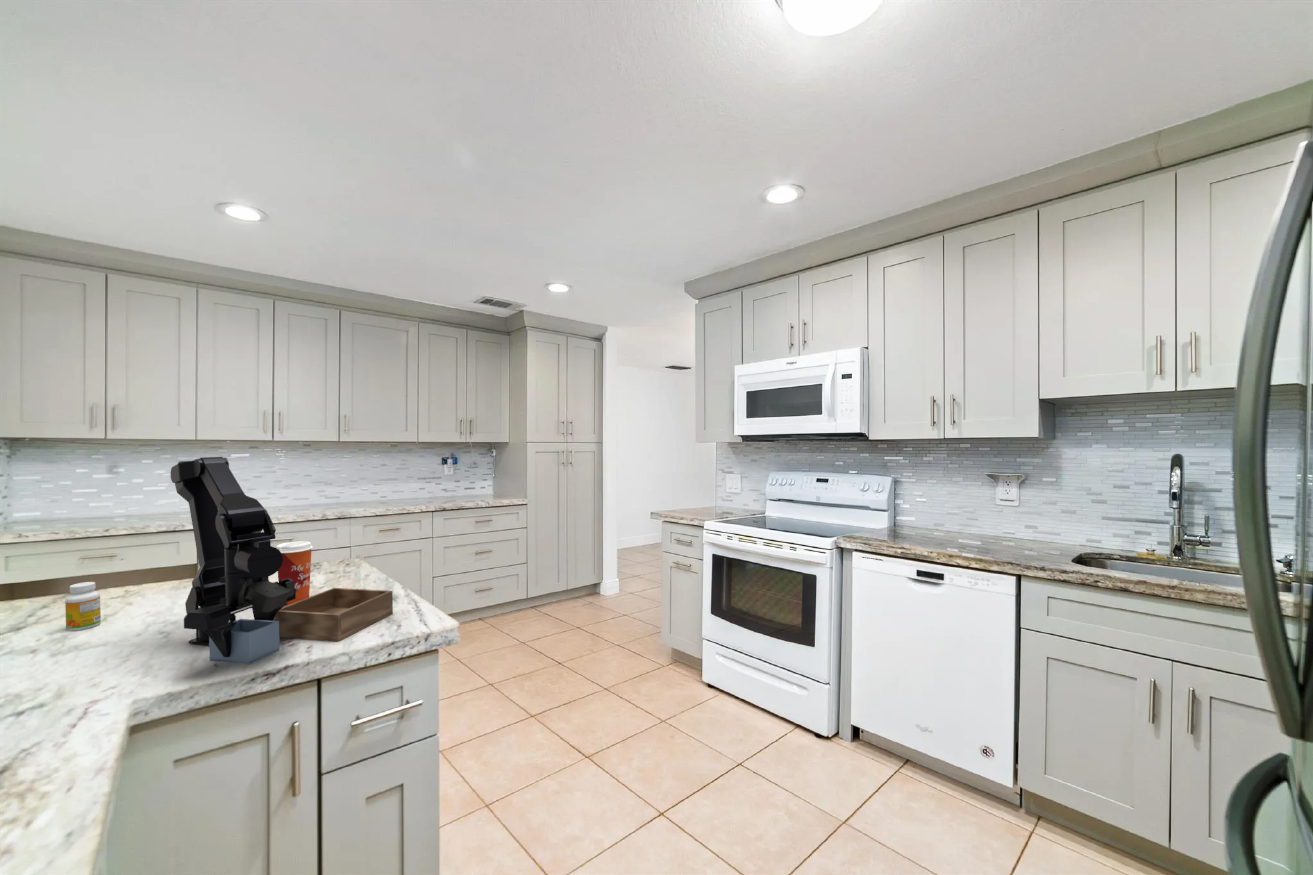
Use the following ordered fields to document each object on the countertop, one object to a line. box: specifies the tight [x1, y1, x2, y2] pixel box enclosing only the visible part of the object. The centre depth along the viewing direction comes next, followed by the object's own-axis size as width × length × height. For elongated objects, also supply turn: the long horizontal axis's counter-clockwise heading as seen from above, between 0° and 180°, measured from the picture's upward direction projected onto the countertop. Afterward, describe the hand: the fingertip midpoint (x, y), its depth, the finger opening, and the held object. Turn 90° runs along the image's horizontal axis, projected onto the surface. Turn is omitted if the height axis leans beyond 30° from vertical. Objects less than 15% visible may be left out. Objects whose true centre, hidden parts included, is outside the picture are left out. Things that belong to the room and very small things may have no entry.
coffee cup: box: [275, 540, 314, 606], centre depth 138 cm, size 8×8×15 cm
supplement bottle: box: [64, 581, 102, 632], centre depth 121 cm, size 5×5×10 cm
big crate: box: [273, 587, 394, 642], centre depth 121 cm, size 16×17×6 cm
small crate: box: [208, 618, 280, 665], centre depth 105 cm, size 9×6×6 cm
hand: (245, 649), depth 105 cm, fingers open, 7 cm apart
